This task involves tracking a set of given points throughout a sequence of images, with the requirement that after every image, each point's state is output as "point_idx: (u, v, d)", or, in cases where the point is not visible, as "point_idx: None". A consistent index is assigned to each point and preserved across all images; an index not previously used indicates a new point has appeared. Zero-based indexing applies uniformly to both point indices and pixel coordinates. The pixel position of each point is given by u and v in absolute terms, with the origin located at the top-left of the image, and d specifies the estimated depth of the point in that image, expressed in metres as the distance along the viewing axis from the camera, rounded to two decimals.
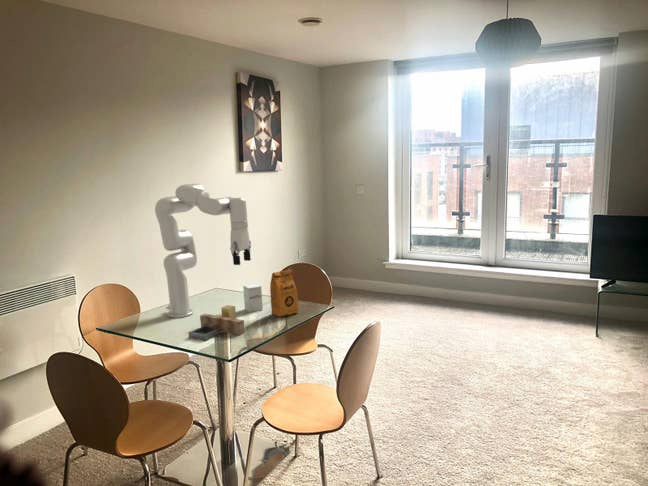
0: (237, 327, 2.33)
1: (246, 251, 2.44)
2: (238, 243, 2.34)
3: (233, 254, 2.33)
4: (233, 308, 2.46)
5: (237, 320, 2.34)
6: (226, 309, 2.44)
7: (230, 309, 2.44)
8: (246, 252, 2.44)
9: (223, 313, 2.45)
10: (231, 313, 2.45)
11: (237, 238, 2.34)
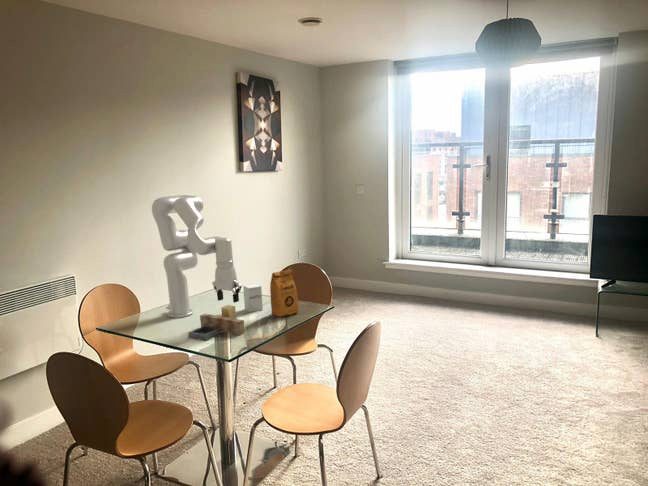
0: (237, 327, 2.33)
1: (220, 291, 2.47)
2: (236, 280, 2.43)
3: (238, 291, 2.41)
4: (233, 308, 2.46)
5: (237, 320, 2.34)
6: (226, 309, 2.44)
7: (230, 309, 2.44)
8: (220, 292, 2.47)
9: (223, 313, 2.45)
10: (231, 313, 2.45)
11: (235, 276, 2.42)
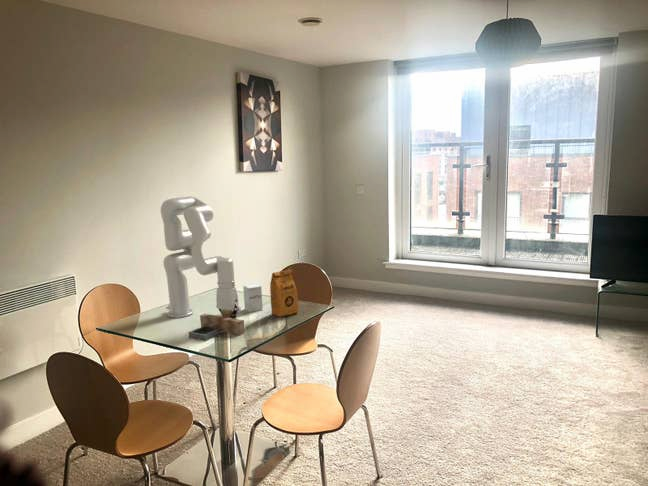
0: (237, 327, 2.33)
1: None
2: (237, 300, 2.44)
3: (235, 313, 2.44)
4: None
5: (237, 320, 2.34)
6: None
7: None
8: None
9: (223, 313, 2.45)
10: None
11: (237, 296, 2.44)
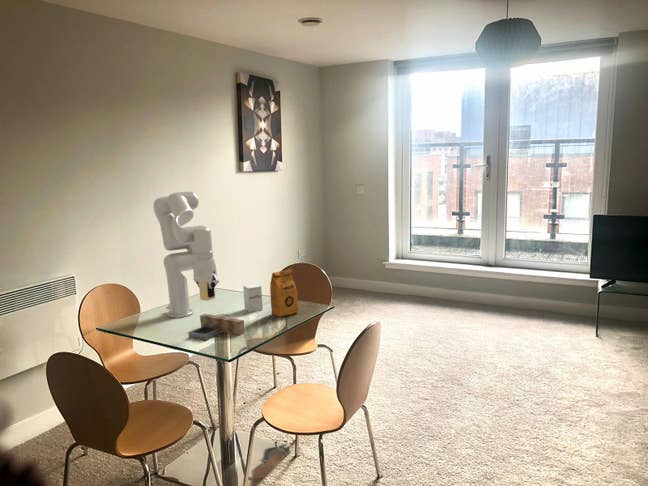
0: (237, 327, 2.33)
1: None
2: (216, 272, 2.31)
3: (214, 286, 2.31)
4: None
5: (237, 320, 2.34)
6: None
7: None
8: None
9: (201, 286, 2.32)
10: None
11: (215, 267, 2.31)
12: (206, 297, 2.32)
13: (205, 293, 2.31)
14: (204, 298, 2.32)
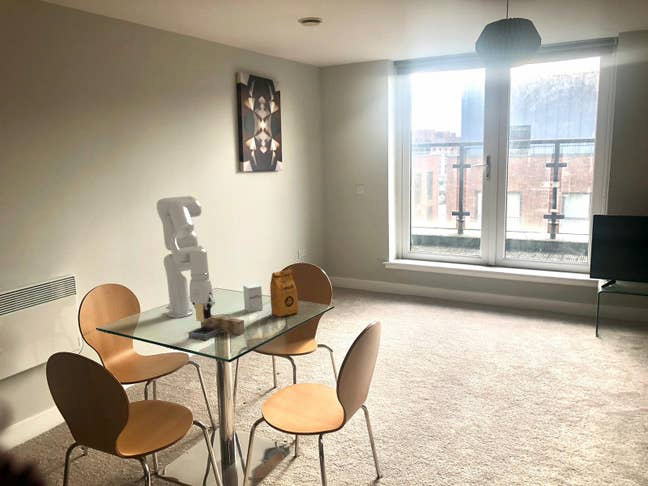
0: (237, 327, 2.33)
1: None
2: (212, 293, 2.30)
3: (209, 307, 2.29)
4: None
5: (237, 320, 2.34)
6: None
7: None
8: None
9: (197, 307, 2.31)
10: None
11: (211, 288, 2.29)
12: (202, 318, 2.30)
13: (201, 314, 2.30)
14: (200, 319, 2.31)
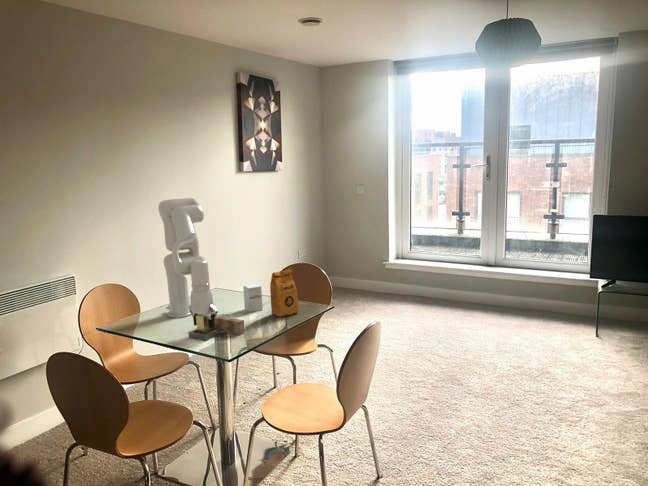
0: (237, 327, 2.33)
1: None
2: (213, 304, 2.31)
3: (213, 317, 2.29)
4: None
5: (237, 320, 2.34)
6: (201, 317, 2.31)
7: (205, 318, 2.31)
8: None
9: (198, 321, 2.32)
10: (206, 321, 2.32)
11: (212, 299, 2.30)
12: (203, 333, 2.31)
13: (202, 329, 2.31)
14: None
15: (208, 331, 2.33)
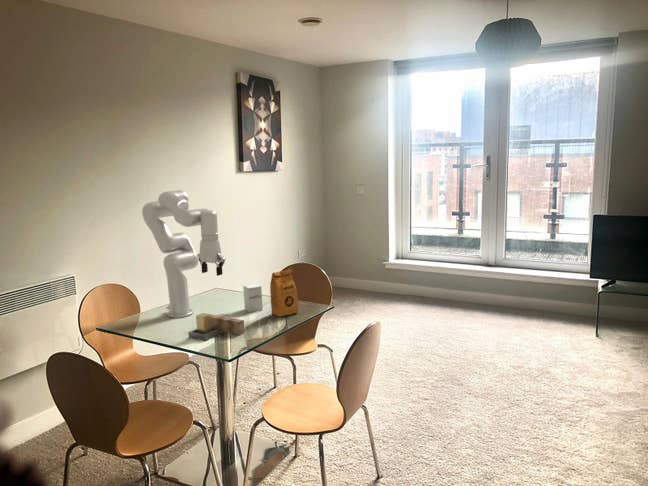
0: (237, 327, 2.33)
1: (204, 263, 2.47)
2: (220, 253, 2.42)
3: (221, 264, 2.41)
4: (208, 316, 2.33)
5: (237, 320, 2.34)
6: (201, 317, 2.31)
7: (205, 318, 2.31)
8: (204, 264, 2.47)
9: (198, 321, 2.32)
10: (206, 321, 2.32)
11: (220, 249, 2.42)
12: (203, 333, 2.31)
13: (202, 329, 2.31)
14: None
15: (208, 331, 2.33)
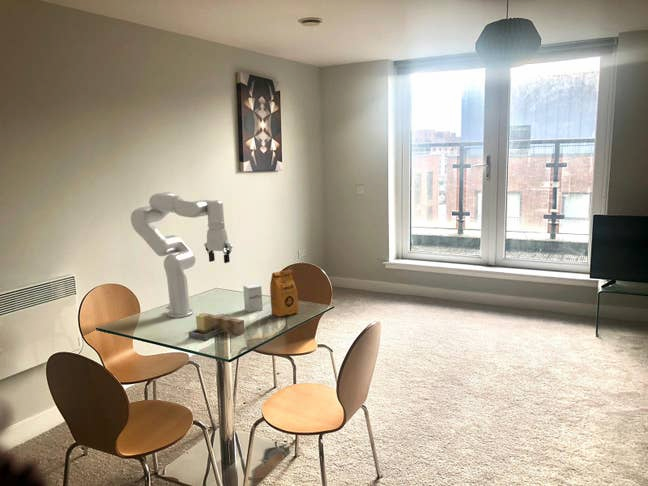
0: (237, 327, 2.33)
1: (211, 252, 2.56)
2: (227, 242, 2.51)
3: (228, 252, 2.49)
4: (208, 316, 2.33)
5: (237, 320, 2.34)
6: (201, 317, 2.31)
7: (205, 318, 2.31)
8: (212, 253, 2.56)
9: (198, 321, 2.32)
10: (206, 321, 2.32)
11: (226, 237, 2.51)
12: (203, 333, 2.31)
13: (202, 329, 2.31)
14: None
15: (208, 331, 2.33)
